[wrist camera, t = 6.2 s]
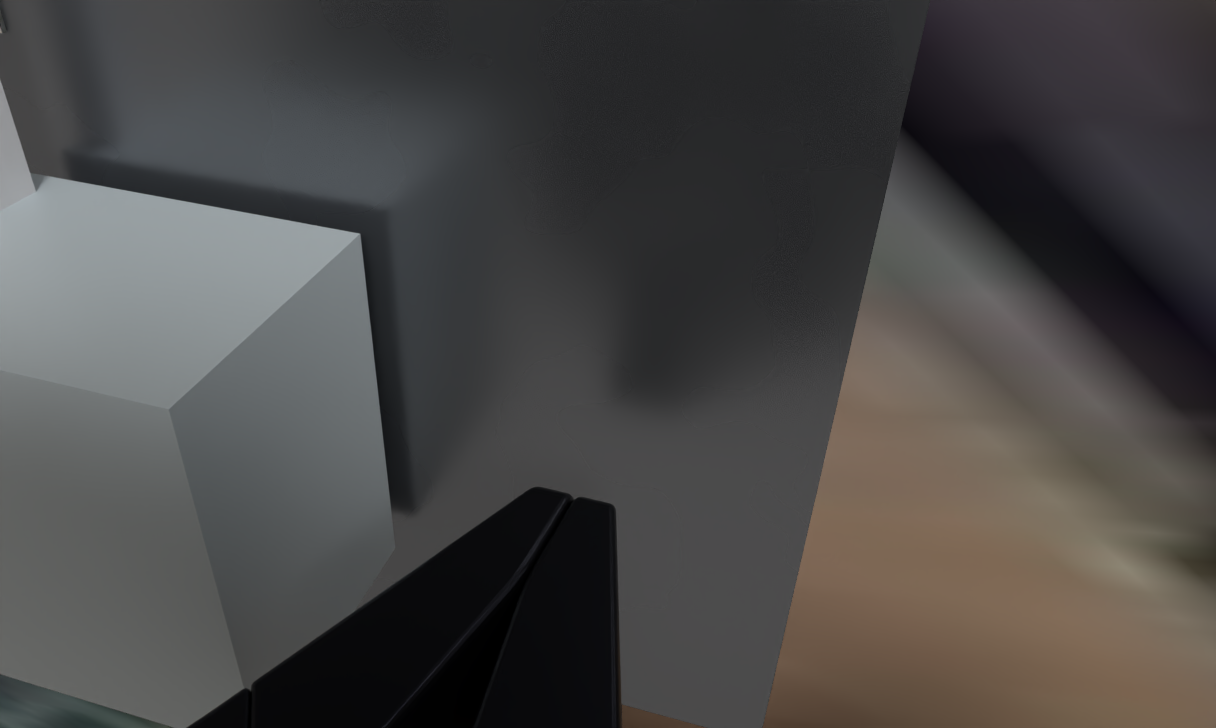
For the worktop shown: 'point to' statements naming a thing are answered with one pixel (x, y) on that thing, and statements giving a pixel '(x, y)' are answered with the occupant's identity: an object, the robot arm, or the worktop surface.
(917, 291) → the worktop surface
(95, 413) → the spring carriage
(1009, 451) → the worktop surface
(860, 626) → the worktop surface
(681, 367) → the gauge base
